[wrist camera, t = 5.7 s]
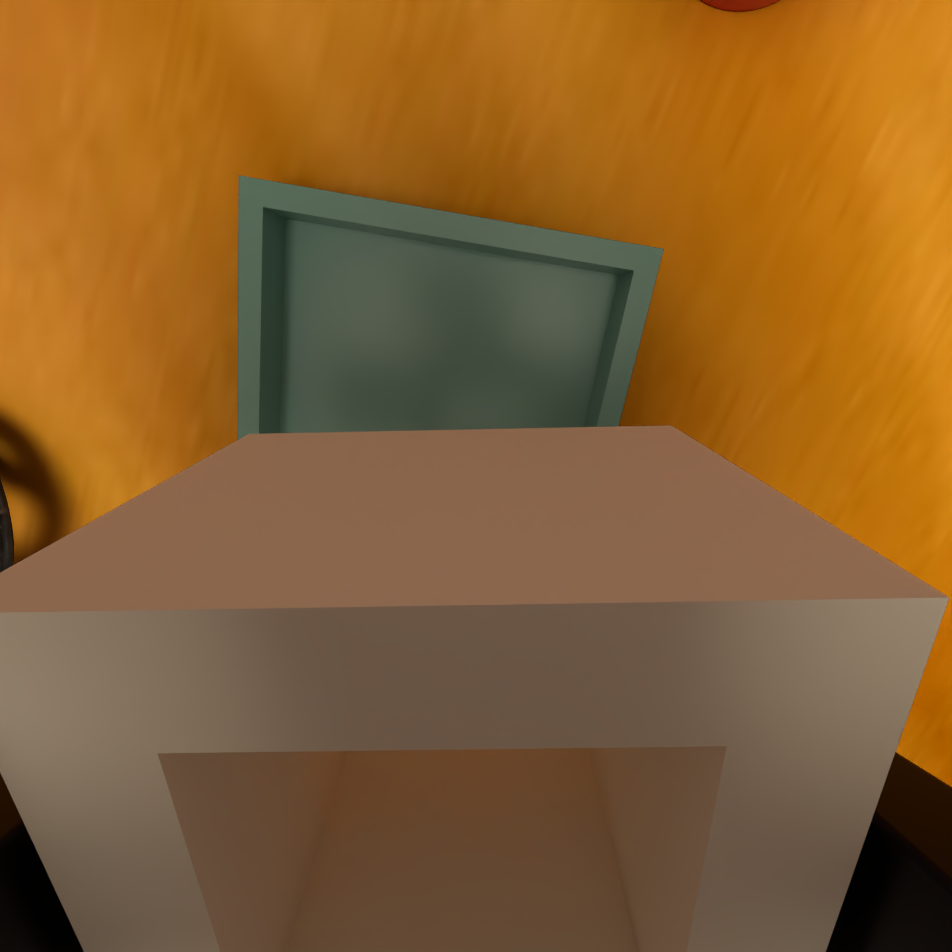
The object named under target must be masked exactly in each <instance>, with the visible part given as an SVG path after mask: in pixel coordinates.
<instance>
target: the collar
mask: <svg viewBox="0 0 952 952" xmlns="http://www.w3.org/2000/svg"><path fill="white" fill-rule="evenodd" d="M948 600H949V597H948V596H946V595H944V594H943V593H941V592H940V591H938V590H936V589H935V588H933V587H931V586H930V585H928V584H927V583H925V582H923V581H922V580H920V579H919V578H917V577H915V576H914V575H912V574H910V573H909V572H907V571H906V570H904V569H902V568H901V567H899V566H898V565H896V564H894V563H893V562H891V561H889V560H888V559H886V558H885V557H883V556H881V555H880V554H878V553H877V552H875V551H873V550H872V549H870V548H869V547H867V546H865V545H864V544H862V543H860V542H859V541H857V540H856V539H854V538H852V537H851V536H849V535H848V534H846V533H844V532H843V531H841V530H839V529H838V528H836V527H835V526H833V525H831V524H830V523H828V522H827V521H825V520H823V519H822V518H820V517H819V516H817V515H815V514H814V513H812V512H810V511H809V510H807V509H806V508H804V507H802V506H801V505H799V504H798V503H796V502H794V501H793V500H791V499H789V498H788V497H786V496H785V495H783V494H781V493H780V492H778V491H777V490H775V489H773V488H772V487H770V486H769V485H767V484H765V483H764V482H762V481H760V480H759V479H757V478H756V477H754V476H752V475H751V474H749V473H748V472H746V471H744V470H743V469H741V468H739V467H738V466H736V465H735V464H733V463H731V462H730V461H728V460H727V459H725V458H723V457H722V456H720V455H719V454H717V453H715V452H714V451H712V450H710V449H709V448H707V447H706V446H704V445H702V444H701V443H699V442H698V441H696V440H694V439H693V438H691V437H689V436H688V435H686V434H685V433H683V432H681V431H680V430H678V429H677V428H675V427H673V426H672V425H664V426H615V427H566V428H516V429H467V430H418V431H369V432H319V433H270V434H248V435H246V436H244V437H243V438H241V439H239V440H237V441H235V442H234V443H232V444H230V445H228V446H226V447H225V448H223V449H221V450H219V451H217V452H216V453H214V454H212V455H210V456H208V457H207V458H205V459H203V460H201V461H199V462H198V463H196V464H194V465H192V466H190V467H189V468H187V469H185V470H183V471H181V472H180V473H178V474H176V475H174V476H173V477H171V478H169V479H167V480H165V481H164V482H162V483H160V484H158V485H156V486H155V487H153V488H151V489H149V490H147V491H146V492H144V493H142V494H140V495H138V496H137V497H135V498H133V499H131V500H129V501H128V502H126V503H124V504H122V505H120V506H119V507H117V508H115V509H113V510H112V511H110V512H108V513H106V514H104V515H103V516H101V517H99V518H97V519H95V520H94V521H92V522H90V523H88V524H86V525H85V526H83V527H81V528H79V529H77V530H76V531H74V532H72V533H70V534H68V535H67V536H65V537H63V538H61V539H59V540H58V541H56V542H54V543H52V544H50V545H49V546H47V547H45V548H43V549H42V550H40V551H38V552H36V553H34V554H33V555H31V556H29V557H27V558H25V559H24V560H22V561H20V562H18V563H16V564H15V565H13V566H11V567H9V568H7V569H6V570H4V571H2V572H0V773H1V775H2V777H3V779H4V782H5V784H6V786H7V788H8V790H9V792H10V794H11V797H12V799H13V801H14V803H15V805H16V807H17V809H18V812H19V814H20V816H21V818H22V820H23V822H24V824H25V827H26V829H27V831H28V833H29V835H30V837H31V839H32V842H33V844H34V846H35V848H36V850H37V852H38V854H39V857H40V859H41V861H42V863H43V865H44V867H45V869H46V872H47V874H48V876H49V878H50V880H51V882H52V884H53V887H54V889H55V891H56V893H57V895H58V897H59V899H60V902H61V904H62V906H63V908H64V910H65V912H66V914H67V917H68V919H69V921H70V923H71V925H72V927H73V929H74V932H75V934H76V936H77V938H78V940H79V942H80V944H81V947H82V949H83V951H84V952H826V950H827V947H828V944H829V941H830V938H831V935H832V932H833V930H834V927H835V924H836V921H837V918H838V915H839V912H840V909H841V907H842V904H843V901H844V898H845V895H846V892H847V889H848V887H849V884H850V881H851V878H852V875H853V872H854V869H855V866H856V864H857V861H858V858H859V855H860V852H861V849H862V846H863V844H864V841H865V838H866V835H867V832H868V829H869V826H870V823H871V821H872V818H873V815H874V812H875V809H876V806H877V803H878V801H879V798H880V795H881V792H882V789H883V786H884V783H885V780H886V778H887V775H888V772H889V769H890V766H891V763H892V760H893V758H894V755H895V752H896V749H897V746H898V743H899V740H900V737H901V735H902V732H903V729H904V726H905V723H906V720H907V717H908V715H909V712H910V709H911V706H912V703H913V700H914V697H915V694H916V692H917V689H918V686H919V683H920V680H921V677H922V674H923V672H924V669H925V666H926V663H927V660H928V657H929V654H930V651H931V649H932V646H933V643H934V640H935V637H936V634H937V631H938V629H939V626H940V623H941V620H942V617H943V614H944V611H945V608H946V606H947V603H948Z"/></svg>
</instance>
